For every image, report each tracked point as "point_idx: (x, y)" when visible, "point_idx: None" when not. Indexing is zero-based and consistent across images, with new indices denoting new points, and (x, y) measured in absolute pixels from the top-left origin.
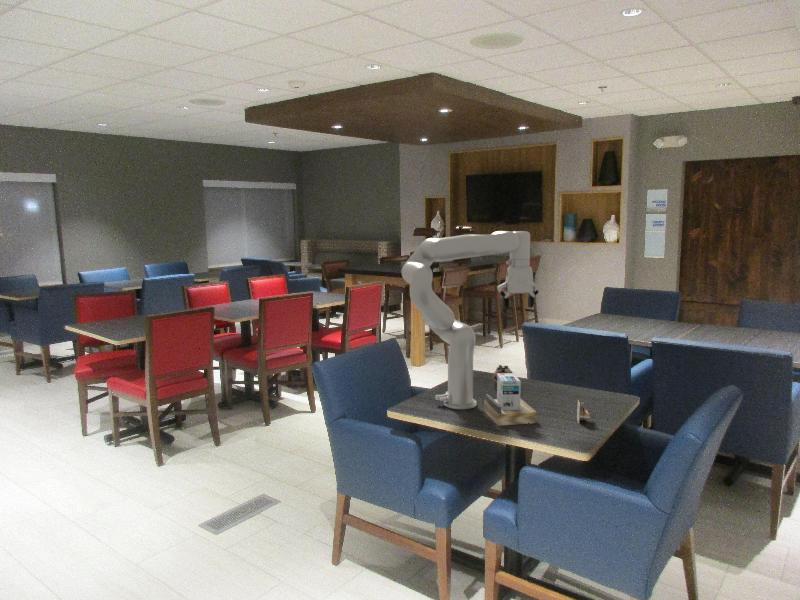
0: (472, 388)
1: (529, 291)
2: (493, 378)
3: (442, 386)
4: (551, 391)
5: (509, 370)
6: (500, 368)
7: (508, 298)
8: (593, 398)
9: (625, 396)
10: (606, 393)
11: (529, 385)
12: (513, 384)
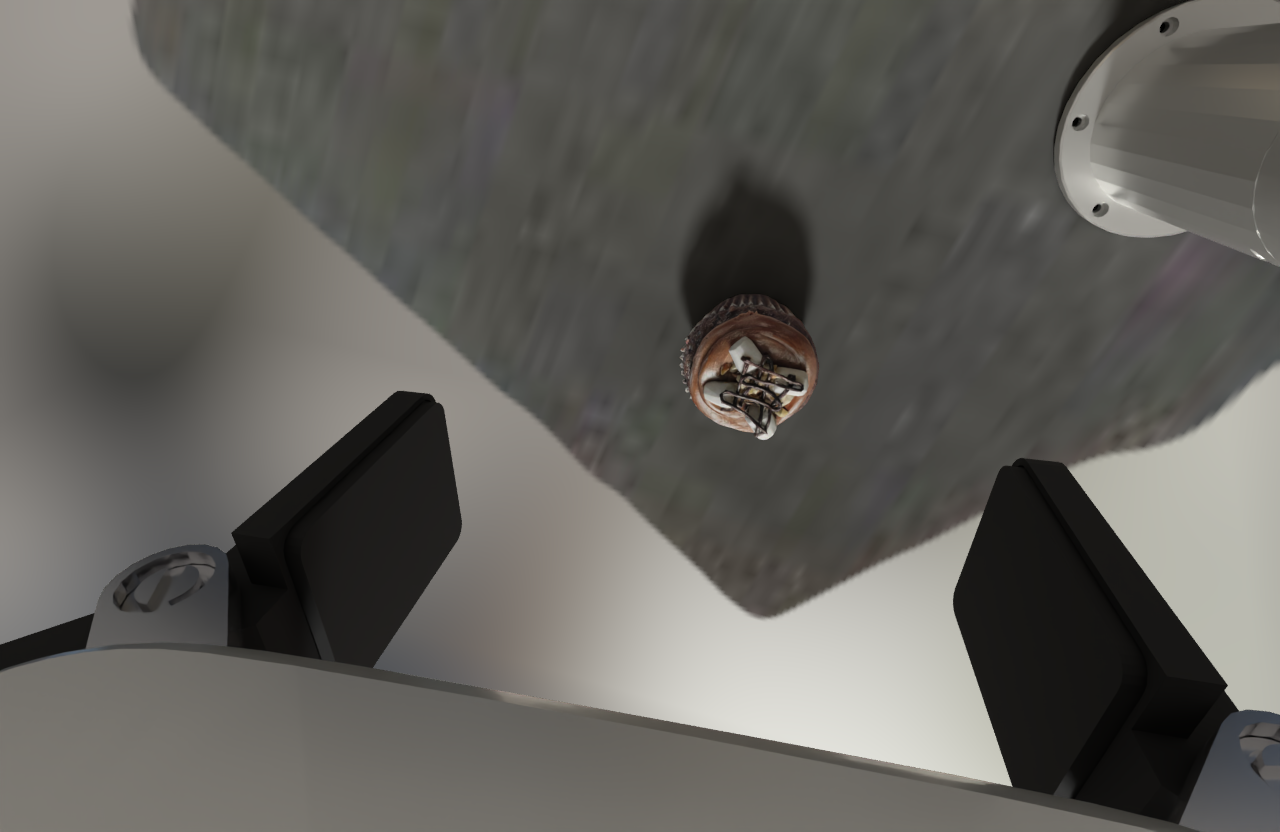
0: (1178, 80)
1: (138, 690)
2: (818, 367)
3: None
4: (518, 244)
5: (732, 346)
6: (784, 376)
7: (1167, 673)
8: (335, 67)
9: (167, 65)
10: (252, 141)
11: (592, 365)
12: None
